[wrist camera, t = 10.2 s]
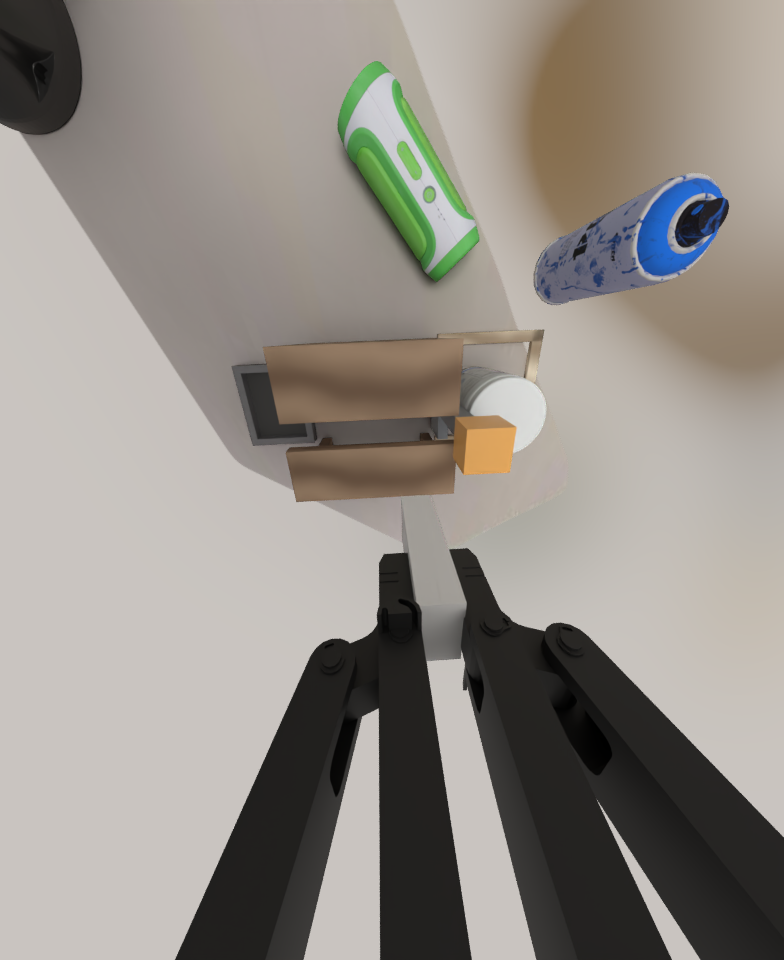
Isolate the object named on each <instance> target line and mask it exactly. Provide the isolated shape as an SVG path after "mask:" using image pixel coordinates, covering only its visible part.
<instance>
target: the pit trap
mask: <svg viewBox="0 0 784 960" xmlns="http://www.w3.org/2000/svg"><path fill="white" fill-rule="evenodd" d="M232 370H233V374H234V377H235V381H236V385H237V388H238V392H239V396H240V400H241V403H242V407H243V411H244V414H245V418H246V422H247V426H248V429H249V433H250V437H251V440H252V444H253V446H255V445H275V444H295V443H315V441H316V440H317V435H316V429H315V423H296V424H279V419H278V415H277V410H276V406H275V401H274V396H273V392H272V387H271V383H270V378H269V373H268V369H267V364H255V365H237V366H232Z"/></svg>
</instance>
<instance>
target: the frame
mask: <svg viewBox="0 0 784 960" xmlns="http://www.w3.org/2000/svg"><path fill="white" fill-rule="evenodd" d="M543 334H544V330H524V331H500V332H476V333H453V334H437V338H464V343H463V344H485V343H508V342H530V343H529V350H528V356H527V362H526V368H525V375H524V378H525V379H527V380H529V381H531V382H532V383H534V384H535V380H536V374H537V368H538V363H539V357H540V351H541V346H542V339H543ZM450 439H454V435H448V439H437V438H436V436H435V440H450Z"/></svg>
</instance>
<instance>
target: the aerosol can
mask: <svg viewBox="0 0 784 960" xmlns="http://www.w3.org/2000/svg"><path fill="white" fill-rule="evenodd" d="M728 209H729V204H728V200H727V199H725V198H723V196H722V194H721V191H720V189H719V187H718V185H717V183H716V182H715V181H714V180H713V179H711V178H710V177H709V176H707V175H705V174H697V173H689V174H686V175H681V176H678V177H675V178H671V179H669V180H667V181H665V182H663V183H661V184H659V185H658V186H656V187H654V188H652V189H650V190H649V191H647V192H645V193H643V194H641V195H639V196H638V197H636V198H634V199H632V200H630V201H628V202H627V203H625V204H623V205H621V206H619V207H618V208H616V209H614V210H612V211H610V212H608V213H607V214H605V215H603V216H601V217H599V218H597V219H596V220H594V221H592V222H590V223H589V224H586V225H585V226H583V227H581V228H579V229H577V230H576V231H574V232H572V233H570V234H568V235H566V236H562V237H560V238H558V239H556V240H555V241H553V242H552V243H550V244H549V245H548V246H547V247H546V249H545V250H544V251H543V252H542V253H541V255H540V257H539V259H538V261H537V263H536V267H535V271H534V287H535V290H536V293H537V295H538V296H539V297H540V299H541V300H542V301H544V302H546V303H547V304H551V305H560V304H563V303H567V302H569V301H573V300H578V299H583V298H589V297H594V296H599V295H604V294H609V293H614V292H619V291H625V290H630V289H635V288H640V287H645V286H651V285H655V284H659V283H663V282H666V281H669V280H670V279H673V278H675V277H677V276H679V275H680V274H682V273H684V272H685V271H687V270H688V269H690V268H691V267H692V266H693V265H694V264H695V263H696V262H697V261H698V260H699V259H700V258H701V257H702V256H703V254H704V253H705V251H706V250H707V249H708V247H709V246H710V244H711V243H712V241H713V239H714V237H715V236H716V234H717V231H718V229H719V227H720V226H721V225H722V223H723V222H724V220H725V218H726V216H727V214H728Z"/></svg>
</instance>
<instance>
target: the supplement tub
mask: <svg viewBox="0 0 784 960" xmlns="http://www.w3.org/2000/svg"><path fill="white" fill-rule="evenodd" d="M460 405H461V406H462V407H464V408H465V409H466V410H467V411H468V412H470V413H471V414H472V415H473V416H491V415H499V416H500V417H502V418H503V419H505V420H507V421H508V422H510V423H511V424H513V425H514V426H516V427H517V429H516V436H515V442H514V448H513V453H516V452H518V451H520V450H522V449H523V448H525V447H526V446H528V445H529V444H530V443H531V442H532V441H533V440H534V439H535V438H536V437H537V435H538V434H539V432H540V431H541V429H542V427H543V424H544V421H545V417H546V402H545V398H544V396H543V394H542V392H541V390H540V389H539V388H538V387H537V386H536V385H535V384H534V383H532V382H531V381H529V380H527V379H525V378H523V377H521V376H517V375H513V374H509V373H505V372H500V371H496V370H492V369H487V368H482V367H471V368H467V369H465V370H462V373H461V389H460Z"/></svg>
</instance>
